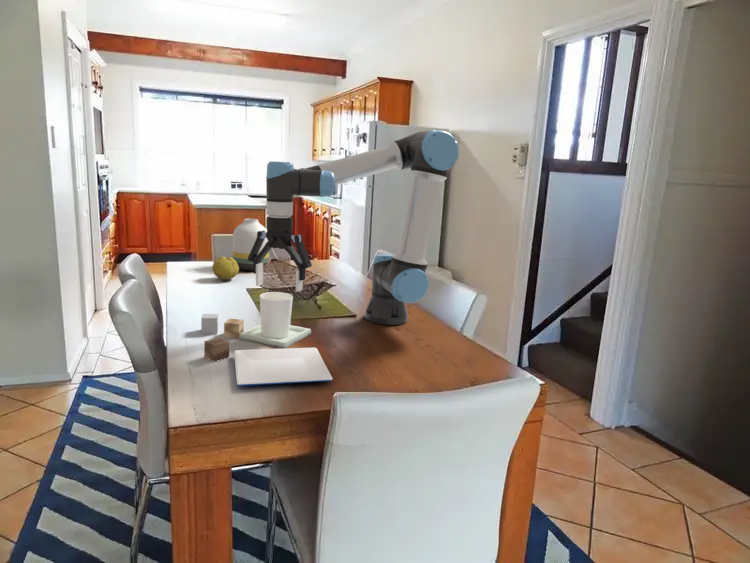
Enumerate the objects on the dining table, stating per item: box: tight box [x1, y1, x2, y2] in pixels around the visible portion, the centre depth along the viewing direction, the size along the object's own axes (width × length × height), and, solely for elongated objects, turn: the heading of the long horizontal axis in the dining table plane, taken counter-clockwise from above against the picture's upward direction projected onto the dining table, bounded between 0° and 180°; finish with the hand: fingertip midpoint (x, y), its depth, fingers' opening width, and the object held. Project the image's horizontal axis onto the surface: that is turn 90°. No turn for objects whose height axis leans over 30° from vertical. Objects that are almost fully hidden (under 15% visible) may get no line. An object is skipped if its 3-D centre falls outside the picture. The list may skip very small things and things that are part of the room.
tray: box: [239, 323, 312, 349], centre depth 158 cm, size 15×15×2 cm
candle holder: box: [259, 291, 294, 338], centre depth 157 cm, size 10×10×12 cm
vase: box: [231, 218, 270, 272], centre depth 249 cm, size 17×17×24 cm
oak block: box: [223, 318, 245, 339], centre depth 156 cm, size 4×4×4 cm
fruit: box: [212, 256, 240, 281], centre depth 225 cm, size 11×12×10 cm
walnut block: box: [203, 337, 230, 362], centre depth 138 cm, size 4×4×4 cm
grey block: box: [200, 313, 219, 335], centre depth 158 cm, size 4×4×5 cm
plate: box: [233, 347, 333, 387], centre depth 133 cm, size 22×22×2 cm
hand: (279, 287), depth 155 cm, fingers open, 13 cm apart
